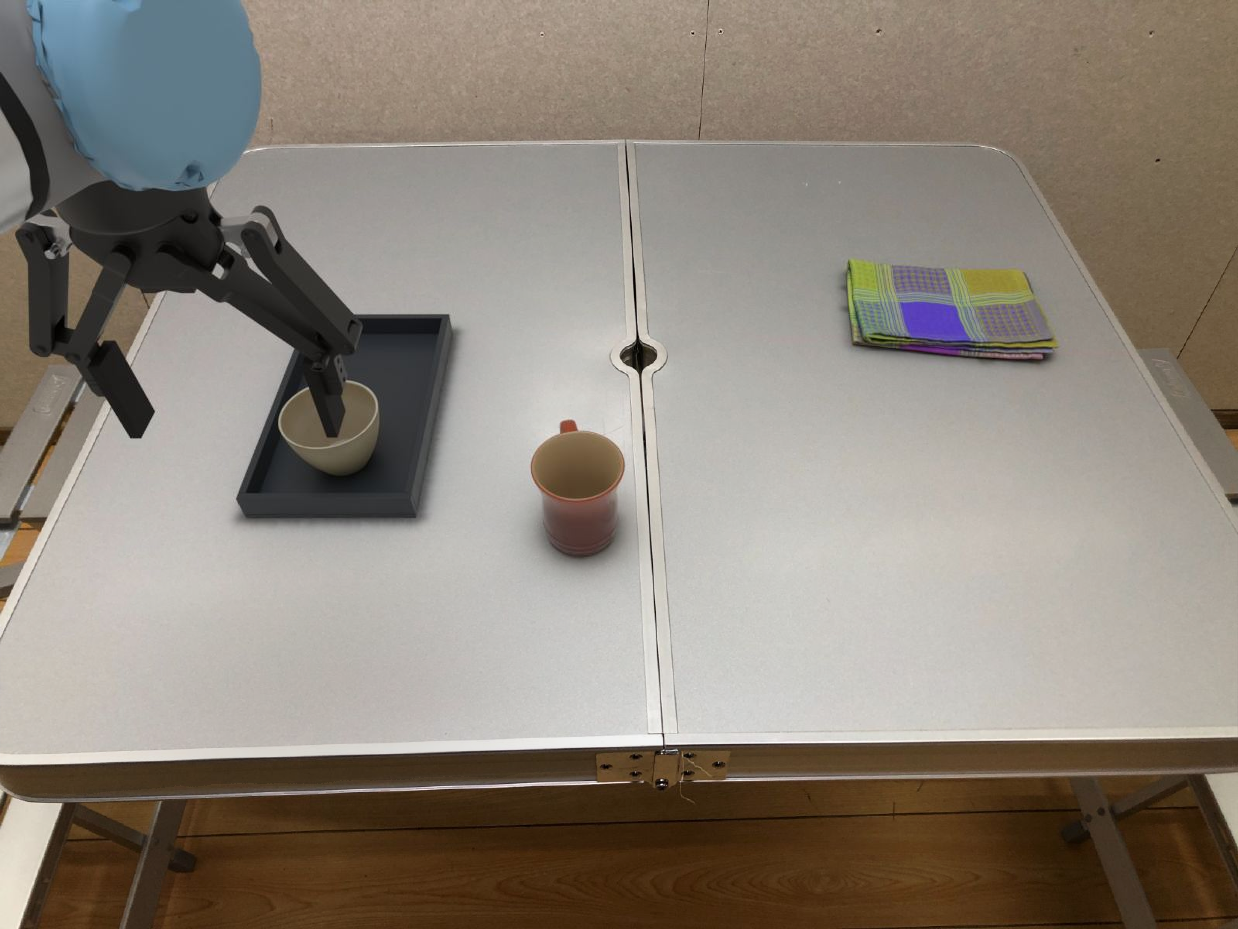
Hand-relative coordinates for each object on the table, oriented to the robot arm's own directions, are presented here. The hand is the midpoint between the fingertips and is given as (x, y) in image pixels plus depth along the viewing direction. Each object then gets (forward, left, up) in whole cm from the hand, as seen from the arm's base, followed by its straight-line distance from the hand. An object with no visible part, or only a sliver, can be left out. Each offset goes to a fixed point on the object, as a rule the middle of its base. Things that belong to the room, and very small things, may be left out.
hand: (240, 424), depth 59 cm
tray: (+15, +22, -26) cm, 37 cm away
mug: (+25, -6, -26) cm, 36 cm away
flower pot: (+10, +17, -26) cm, 32 cm away
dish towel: (+82, -10, -26) cm, 87 cm away
